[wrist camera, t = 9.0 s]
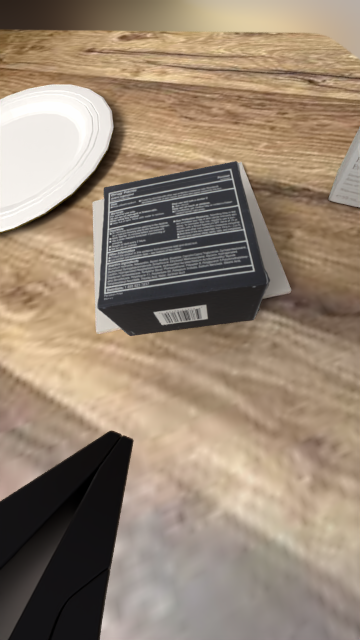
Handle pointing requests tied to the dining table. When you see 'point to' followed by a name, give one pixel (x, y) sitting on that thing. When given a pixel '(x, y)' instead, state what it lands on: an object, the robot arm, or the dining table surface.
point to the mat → (267, 249)
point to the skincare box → (348, 177)
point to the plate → (48, 148)
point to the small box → (180, 252)
